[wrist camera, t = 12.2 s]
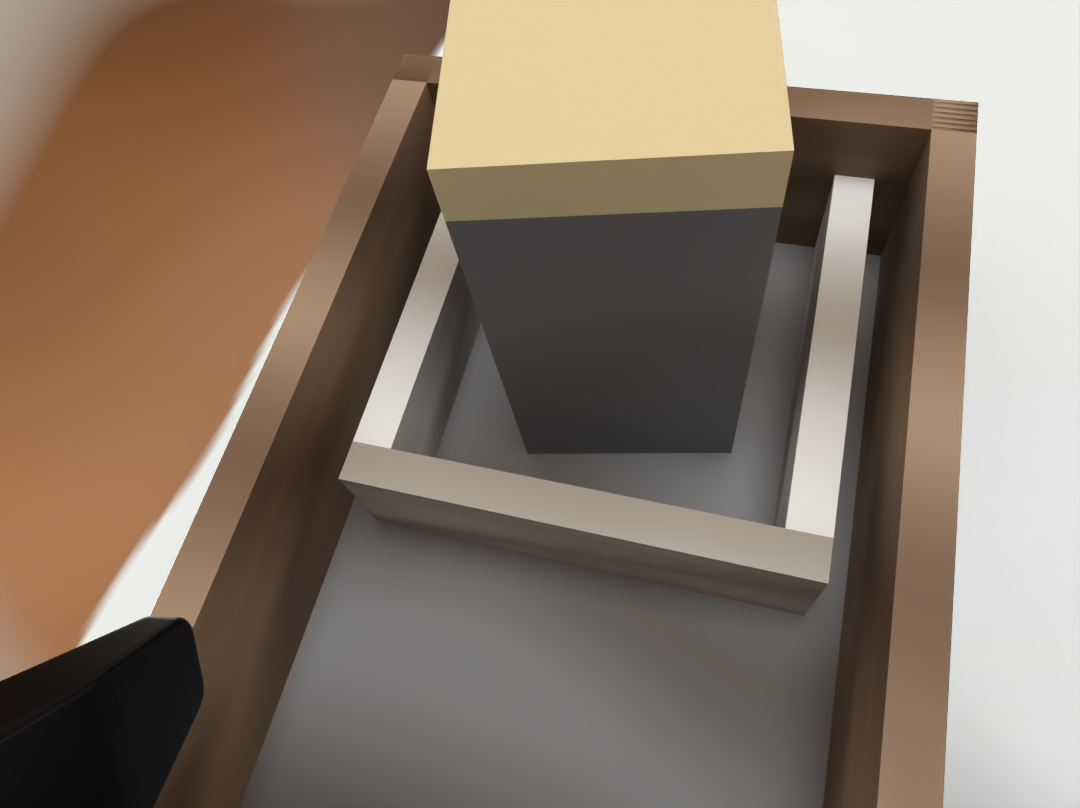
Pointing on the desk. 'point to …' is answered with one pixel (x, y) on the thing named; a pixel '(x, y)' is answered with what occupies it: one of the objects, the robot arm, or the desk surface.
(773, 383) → the walled box
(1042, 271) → the desk surface
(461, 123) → the tan lidded carton
